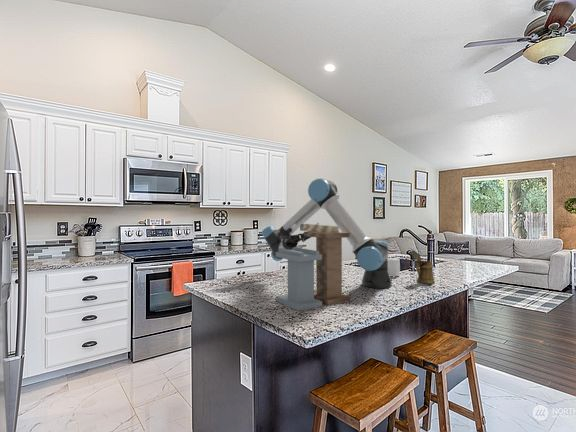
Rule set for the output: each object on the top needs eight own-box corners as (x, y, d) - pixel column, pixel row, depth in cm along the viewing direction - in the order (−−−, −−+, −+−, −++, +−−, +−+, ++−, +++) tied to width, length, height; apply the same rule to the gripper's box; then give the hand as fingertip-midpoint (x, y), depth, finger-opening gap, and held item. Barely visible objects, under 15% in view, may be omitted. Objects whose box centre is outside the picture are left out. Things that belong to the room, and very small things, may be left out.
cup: (402, 276, 200) (402, 259, 200) (384, 277, 197) (384, 260, 197) (394, 274, 208) (394, 257, 208) (377, 275, 205) (377, 258, 205)
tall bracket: (304, 296, 156) (303, 231, 155) (324, 292, 162) (324, 230, 161) (327, 305, 140) (327, 233, 140) (349, 301, 146) (349, 232, 146)
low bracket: (275, 300, 148) (275, 248, 148) (298, 296, 154) (298, 247, 154) (297, 310, 132) (297, 252, 132) (322, 306, 139) (321, 250, 138)
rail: (300, 230, 166) (300, 224, 166) (305, 230, 168) (305, 223, 168) (333, 233, 144) (332, 225, 144) (338, 233, 145) (338, 225, 145)
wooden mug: (406, 281, 186) (406, 249, 186) (426, 280, 190) (426, 248, 190) (417, 285, 177) (417, 251, 177) (438, 283, 182) (438, 250, 181)
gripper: (309, 249, 184) (330, 231, 168) (269, 252, 171) (287, 233, 155) (305, 237, 187) (325, 218, 171) (265, 239, 174) (283, 219, 158)
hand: (307, 225), depth 163 cm, fingers open, 13 cm apart
